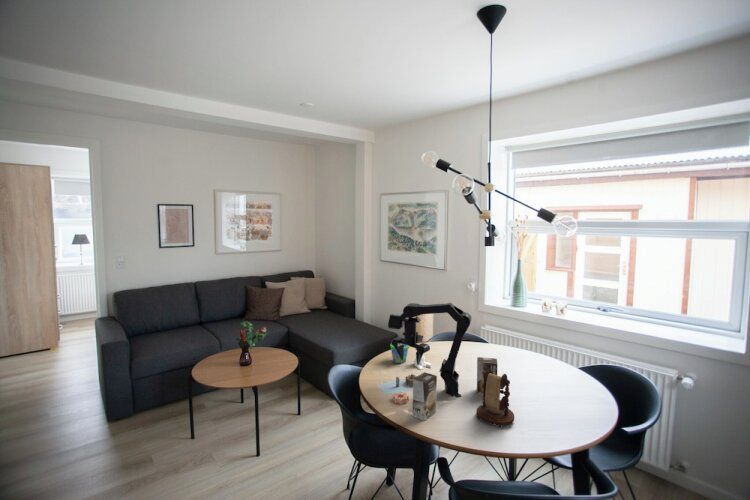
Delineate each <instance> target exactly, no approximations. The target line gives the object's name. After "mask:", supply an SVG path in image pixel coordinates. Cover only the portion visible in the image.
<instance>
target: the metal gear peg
mask: <svg viewBox="0 0 750 500" xmlns="http://www.w3.org/2000/svg"><path fill="white" fill-rule="evenodd" d="M399 380H400V376H396V377H395V381H396V387H399Z"/></svg>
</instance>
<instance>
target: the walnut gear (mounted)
mask: <svg viewBox="0 0 750 500" xmlns="http://www.w3.org/2000/svg"><path fill="white" fill-rule="evenodd" d="M417 376H418V375H416V374H413V373H411V374H409V375H407V376H405V379H406V385H409V386H410V387H411V386H413V378H415V377H417Z"/></svg>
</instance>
